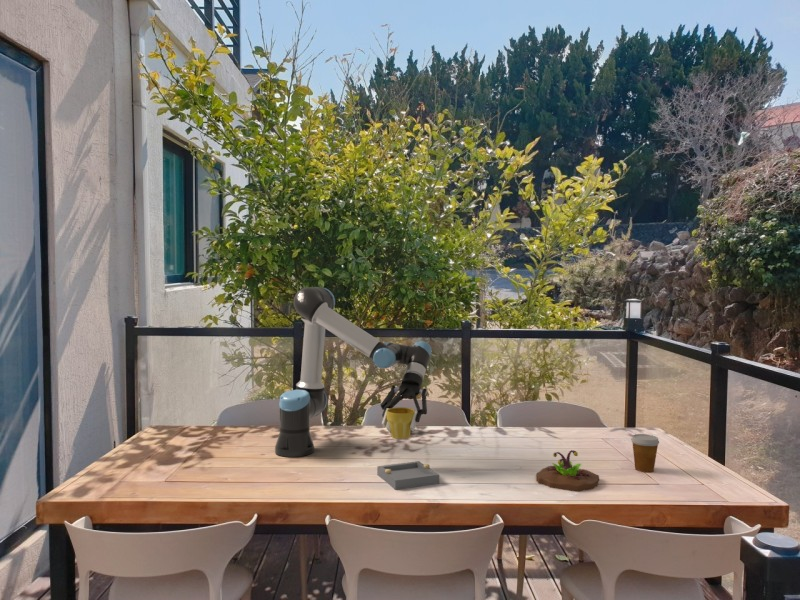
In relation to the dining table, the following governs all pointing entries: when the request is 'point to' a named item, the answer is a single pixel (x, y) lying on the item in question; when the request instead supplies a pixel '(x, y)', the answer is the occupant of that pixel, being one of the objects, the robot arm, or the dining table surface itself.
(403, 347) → the robot arm
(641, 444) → the disposable coffee cup
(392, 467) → the base
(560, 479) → the plant
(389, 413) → the plant pot
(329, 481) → the dining table surface
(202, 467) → the dining table surface
